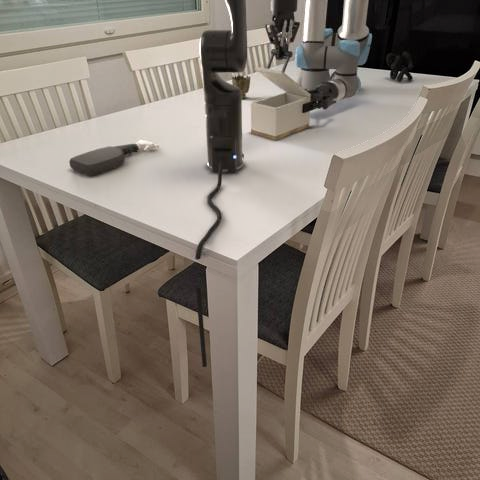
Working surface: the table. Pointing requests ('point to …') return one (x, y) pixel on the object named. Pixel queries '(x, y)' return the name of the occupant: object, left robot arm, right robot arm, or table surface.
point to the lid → (282, 76)
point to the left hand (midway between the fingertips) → (281, 59)
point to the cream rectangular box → (279, 115)
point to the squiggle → (399, 66)
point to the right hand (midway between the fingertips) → (289, 105)
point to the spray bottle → (106, 157)
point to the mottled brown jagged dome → (242, 84)
